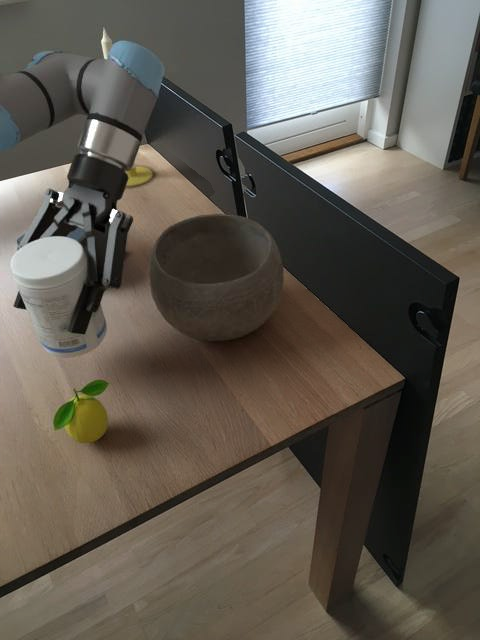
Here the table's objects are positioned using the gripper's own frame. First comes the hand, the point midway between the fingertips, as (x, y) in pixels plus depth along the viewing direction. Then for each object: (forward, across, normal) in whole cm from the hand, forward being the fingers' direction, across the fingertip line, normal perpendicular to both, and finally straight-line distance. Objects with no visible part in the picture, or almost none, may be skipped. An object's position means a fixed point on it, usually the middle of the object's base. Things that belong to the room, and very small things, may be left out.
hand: (48, 320), depth 73 cm
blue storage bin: (-7, +20, -24) cm, 32 cm away
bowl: (-7, -13, -24) cm, 28 cm away
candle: (-30, +33, -48) cm, 66 cm away
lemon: (+13, -10, -4) cm, 17 cm away
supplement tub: (+2, 0, -6) cm, 7 cm away
